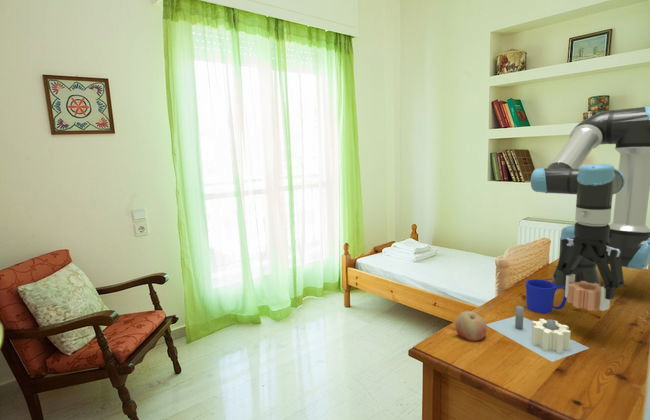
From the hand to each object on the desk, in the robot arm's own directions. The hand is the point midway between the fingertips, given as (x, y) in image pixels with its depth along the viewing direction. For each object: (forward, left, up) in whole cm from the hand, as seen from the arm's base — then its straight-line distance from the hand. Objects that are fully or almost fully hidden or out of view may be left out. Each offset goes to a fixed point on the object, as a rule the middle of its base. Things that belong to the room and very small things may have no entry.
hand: (586, 302), depth 98 cm
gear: (+13, 0, -9) cm, 16 cm away
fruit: (+28, -13, -11) cm, 33 cm away
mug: (-5, -15, -11) cm, 19 cm away
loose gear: (0, 0, 0) cm, 0 cm away
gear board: (+13, -5, -10) cm, 18 cm away
